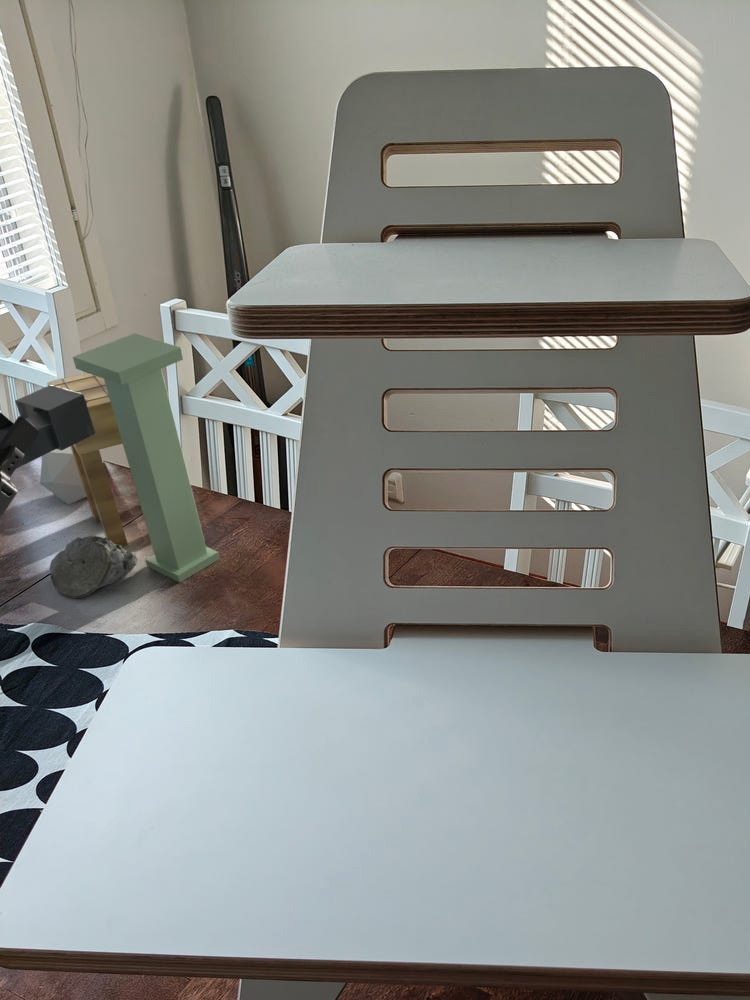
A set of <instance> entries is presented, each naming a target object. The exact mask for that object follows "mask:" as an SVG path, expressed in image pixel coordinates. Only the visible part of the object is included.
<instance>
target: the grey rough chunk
mask: <svg viewBox="0 0 750 1000" xmlns="http://www.w3.org/2000/svg"><path fill="white" fill-rule="evenodd" d="M137 564H138V555H137V554H136V552H134V551H129V550H127V549H124V548H123V546H121V545H117V544H114V543H112V541H111V540H108V539H106V537H102V536H97V535H87V536H84V537H80V536H78V537H76V538H75V539H73V540H71V541H70V542H68V543H67V544H66V545H65V548H64V549H63V550H60V551H59V552H58V553H57V554H56V555H55V556H54V557H53V559H51V561H50V564H49V565H50V566H49V575H50V579H51V582H52V584H53V586H54V587H55V589H56V590H57V591H58V592H59V593H60V594H62V595H64V596H66V597H68V598H72V599H81V598H85V597H88V596H89V595H91V594H93V593H94V592H95V591H96V590H98V589H99V588H101V587H102V588H103V587H105V586H109V585H111V584H113V583H116V582H117V581H119V580H121V579H123V577H125V576H126V575H128V574H129V573H130V572H131V571H132V570H133V569H134V568H135V567H136V566H137Z"/></svg>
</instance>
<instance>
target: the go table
mask: <svg viewBox="0 0 750 1000" xmlns="http://www.w3.org/2000/svg"><path fill="white" fill-rule="evenodd" d="M46 384H47V386H49V385H52V386H55V387H59V388H62V389H66V390H69V391H73V392H77V393H80V394H83V395H84V398H85V401H86V404H87V408H88V411H89V414H90V417H91V421H92V424H93V427H94V430H95V434H94V435H92V436H90V437H88V438H86V439H84V440H82V441H80V442H78V443H76V444H74V445H72V446H70V447H71V450H72V453H73V456H74V459H75V462H76V465H77V469H78V472H79V475H80V478H81V481H82V484H83V487H84V490H85V493H86V496H87V497H86V499H87V502H88V506H89V509H90V511H91V514H92V518H93V519H94V521H95V523H100V524H101V528H102V530H103V531H102V532H103V533H104V536H105V537H104V538H105V539H108V540H111V541H112V543H114V544H117V545H121V546H122V547H124V546H128V545H129V543H128V540H127V537H126V533H125V530H124V527H123V524H122V523H123V522H122V520H121V517H120V513H119V510H118V507H117V504H116V501H115V497H114V493H113V491H112V487H111V484H110V480H109V478H108V475H107V471H106V469H105V465H104V460H103V458H102V454H101V452H100V450H103V449H107V448H111V447H115V446H118V445H123V443H122V440H121V436H120V433H119V429H118V426H117V422H116V419H115V415H114V412H113V409H112V405H111V402H110V398H109V395H108V391H107V388H106V384H105V381H104V379H103V378H101V377H98V376H95V375H92V374H89V373H87V372H84V373H81V374H76V375H71V376H67V377H64V378H59V379H54V380H50V381H47V382H46ZM102 460H103V461H102Z"/></svg>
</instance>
